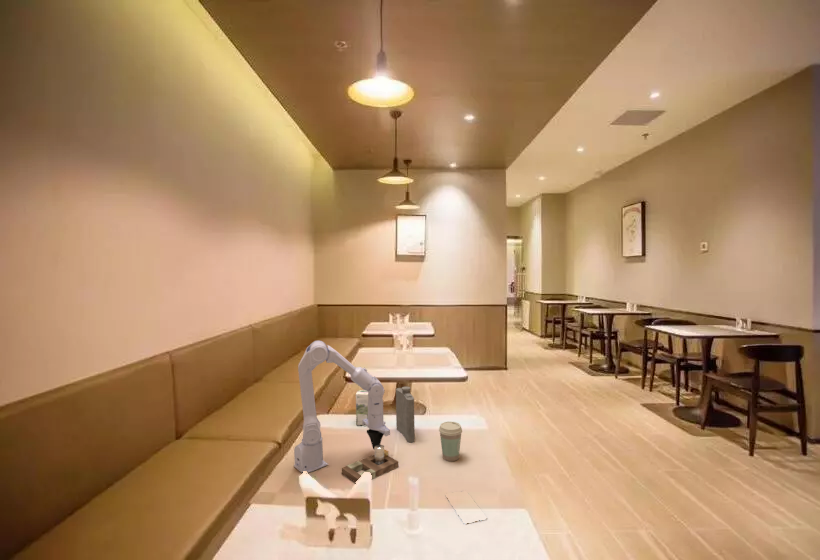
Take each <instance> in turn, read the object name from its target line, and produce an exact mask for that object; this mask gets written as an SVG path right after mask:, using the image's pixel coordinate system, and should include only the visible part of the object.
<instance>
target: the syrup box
mask: <svg viewBox="0 0 820 560" xmlns="http://www.w3.org/2000/svg"><path fill="white" fill-rule="evenodd" d="M355 418H356V419H355V420H356V421H355V422H356V423H355V424H356V426H360V425H362V420H363V419H366V418H367V419H368V392H367V391H366V390H363V389H358V390H357V391H356V393H355Z"/></svg>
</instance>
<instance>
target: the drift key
mask: <svg viewBox="0 0 820 560" xmlns="http://www.w3.org/2000/svg"><path fill="white" fill-rule="evenodd" d="M387 456H389V451H388V450H387V449H385V448H384V457H387Z"/></svg>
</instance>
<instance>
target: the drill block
mask: <svg viewBox="0 0 820 560" xmlns="http://www.w3.org/2000/svg"><path fill="white" fill-rule="evenodd" d="M397 468H399V461H398V460H397V459H394V458H393V457H392V456H390V455H388V456H387V457H384V463H383V464H381V465H377V464H375V453H374V454H372V455H370V456H367V457H364V458H362V459H359V460H358V461H355V462H352V463H350V464H347V465H345V466H343V467H341V474H342V475H343V476H344V477H346V478H348V479H349V480H350V481H352V482H353V483H355V482H356V481H357V480H358V479H359V478H360V477H361V475H362V474H363V473H364V472H370V473H371V475H372V479H371V480H373V479H376V478H377V477H379V476H382V475H384V474H386V473H388V472H390V471H393V470H394V469H397ZM360 471H363V472H360ZM359 472H360V473H359ZM355 484H356V483H355Z"/></svg>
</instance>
